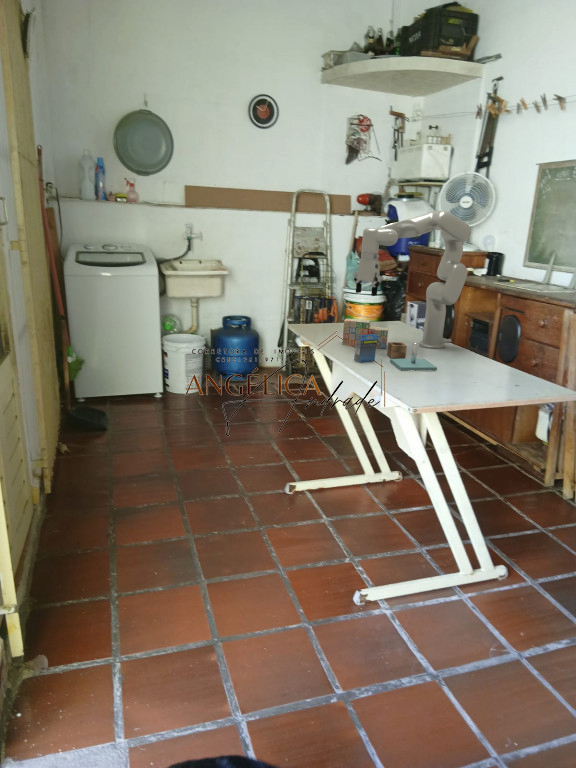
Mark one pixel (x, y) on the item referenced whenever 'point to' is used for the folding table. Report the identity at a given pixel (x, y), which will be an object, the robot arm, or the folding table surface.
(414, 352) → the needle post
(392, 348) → the hollow wooden block
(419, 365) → the teal flat board
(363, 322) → the stack of blocks
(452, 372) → the folding table surface
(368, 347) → the label tape box
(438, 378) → the folding table surface
